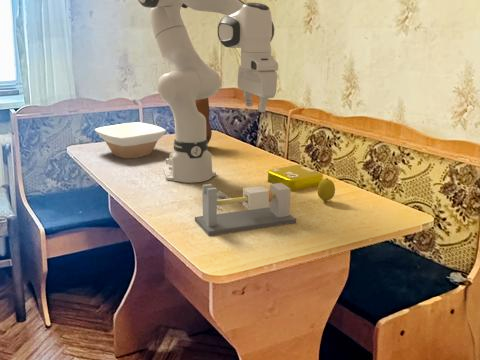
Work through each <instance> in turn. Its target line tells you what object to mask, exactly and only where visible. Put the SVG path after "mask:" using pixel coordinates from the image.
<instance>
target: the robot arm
mask: <svg viewBox="0 0 480 360" xmlns="http://www.w3.org/2000/svg"><path fill="white" fill-rule="evenodd" d="M137 1H138V2H139V4H140V5H141V6H142V7H143V8H149V9H150V11H149V18H150V24H151V28H152V33H153V34H154V38H155V41H156V43H157V45H158V48H159V51H160V54H161V56H162V59H164V61H165V62H166V63H168V64H170V65H172V67H174V68H175V69H176V70H171V71H169V72H166V73H164V74H162V75H161V76H159V79H158V82H157V92H158V95H159V96H160V98H161V99H162V100H163V101H164V102H165V103H166V104H167V105H168V107H169V108H170V110H171V113H172V117H173V120H174V134H175V135H174V137H175V139H174V141H173V150H172V151H171V153H170V154H169V156H168V157H169V158H165V164H166V166H164V167H163V173H164V176H165V180H166V181H174V182H180V183H201V182H206V181H208V180H210V179H211V178H212V177H215V176H217V172H216V171H214V170H213V159H212V153H211V152H210V151H208V147H209V143H208V141H207V138H206V118H205V116H204V115H203V114H202V113H200V112H198V110H197V107H196V102H195V101H196V100H199V99H205V98H208V99H209V98H210V97H213V96H215V95H216V94H217V93H219V91H220V89H221V85H222V83H221V81H222V80H221V77H220V75H219V73H218V72H217V70H215V69H213V68H212V67H210V66H209V65H208V64H207V63H205V61H204V60H203V59H202V58H201V57H200V55H199V54H198V52H197V51H196V49H195V48H194V45H193V44H192V41H191V39H190V35H189V34H188V30H187V28H186V26H185V23H184V21H183V18H182V15H181V9H182V8H183V9H187V8H190V9H191V10H194V11H197V12H208V13H210V12H211V13H217V14H222V15H224V16H223V17H222V18H221V19H220V20H219V22H218V26H217V37H218V40H219V42H220V44H221V45H222V46H224V47H225V48H231V49H237V48H240V65H239V66H238V71H237V87H238V90H240V91H243V96H244V100H245V102H244V103H245V104H244V105H245V106H246V107H249V108H251V107H253V102H254V101H253V100H252V95H254V96H256V97H259V99H258V100H259V105H258V106H257V108H258V109H257V111H258V112H259V113H265V112H267V109H266V108H267V105H268V102H269V99H273V98H275V96H276V93H277V83H278V76H277V74H278V73H277V72H276V71H278V70H279V63H278V61H276V60H275V58H274V57H273V56H272V46H271V42H272V40H273V39H274V36H275V26H274V22H273V20H272V19H273V18H272V12H271V8H270V7H269V6H268V5H266V4H264V3H258V2H244V1H242V0H137Z"/></svg>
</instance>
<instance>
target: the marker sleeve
mask: <svg viewBox="0 0 480 360" xmlns="http://www.w3.org/2000/svg"><path fill="white" fill-rule="evenodd" d="M269 191H270V190H268V189H267V188H265V187H264V186H263V185H260V186H251V187H243V188H242V197H247V196H248V201H246V202H243V204H242V205H243V206H244V207H245V208H247V210H253V209H261V208H268V207H270V202H269Z"/></svg>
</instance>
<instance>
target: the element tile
mask: <svg viewBox="0 0 480 360" xmlns="http://www.w3.org/2000/svg"><path fill="white" fill-rule="evenodd" d="M322 180H324V173H322V172H319V171H316V170H314V169H311V168H309V167H306V166H304V165H299V164H295V165H290V166H289V165H288V166H284V167H278V168H274V169H273V168H271V169H269V170H268V171H267V183H270V184H276V183H282V184H284V185H285V186H287V187H288V188H290V192H296V191H302V189H303V190H306V189H311V187H312V188H317V187H318V185H319V183H320V182H321V181H322ZM316 186H317V187H316Z"/></svg>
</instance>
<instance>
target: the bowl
mask: <svg viewBox="0 0 480 360" xmlns="http://www.w3.org/2000/svg"><path fill="white" fill-rule="evenodd" d="M94 131H95V132H96V134H98V135H99V137H100V138H102V139H103V140H104V142H105V143H106V145H107V147H108V148H109V150H110V151H111V153H112V154H113V155H114V154H115V155H114V156H116V155H117V156H116V157H118V156H119V158H122V159H126V160H128V159H129V158H130V159H136V158H140V157H146V156H149V154H150V155H151V153H152V152H153V150H154V148H155V146H156V144H157V143H158V142H159V140H160V139H161V138H163V136H164V134H166V133H167V130H166V129H165V128H163V127H161V126H158V125H155V124H151V123H145V122H139V121H136V122H135V121H134V122H126V123H125V122H123V123H120V124H119V123H118V124H112V125H105V126H101V127H97V128H94ZM130 159H129V160H130Z"/></svg>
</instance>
